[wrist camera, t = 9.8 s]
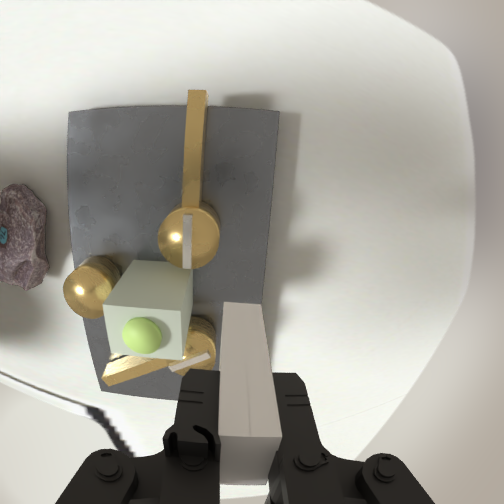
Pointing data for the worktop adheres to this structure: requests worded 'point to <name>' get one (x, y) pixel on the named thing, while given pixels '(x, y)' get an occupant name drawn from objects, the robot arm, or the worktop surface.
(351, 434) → the worktop surface
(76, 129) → the grey knob board
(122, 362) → the knob
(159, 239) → the knob
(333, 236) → the worktop surface
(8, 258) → the rock
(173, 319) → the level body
